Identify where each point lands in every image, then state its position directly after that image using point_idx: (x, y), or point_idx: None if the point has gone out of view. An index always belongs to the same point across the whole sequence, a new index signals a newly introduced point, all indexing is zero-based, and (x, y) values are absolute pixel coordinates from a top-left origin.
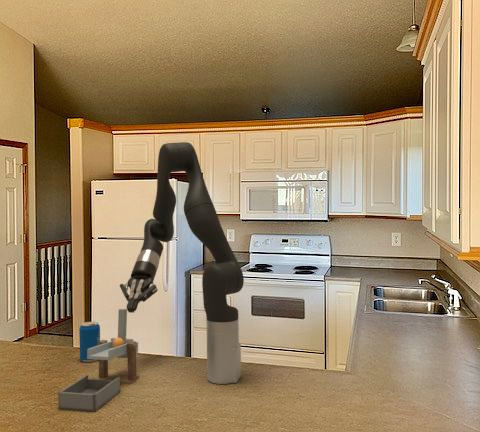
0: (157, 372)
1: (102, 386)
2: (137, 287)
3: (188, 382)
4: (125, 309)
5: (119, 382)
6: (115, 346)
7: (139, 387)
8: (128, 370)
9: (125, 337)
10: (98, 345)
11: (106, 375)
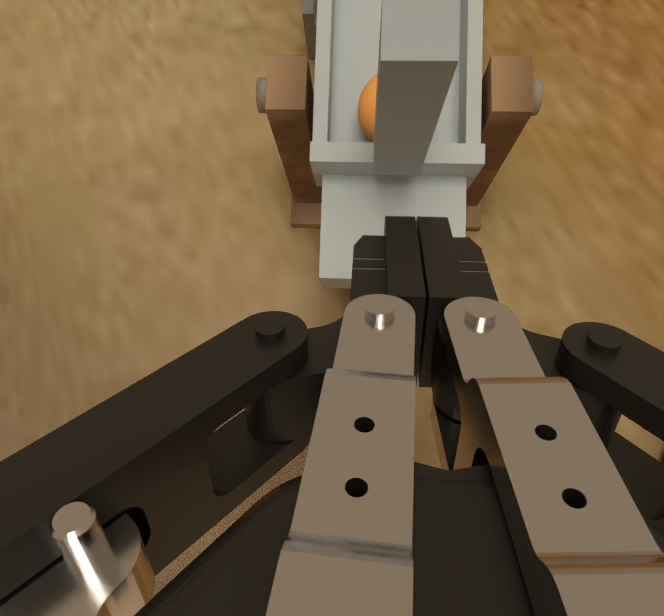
0: (229, 317)
1: None
2: (411, 445)
3: (44, 207)
4: (382, 22)
5: (304, 26)
6: None
7: (245, 118)
8: None
9: (373, 160)
10: None
11: None
